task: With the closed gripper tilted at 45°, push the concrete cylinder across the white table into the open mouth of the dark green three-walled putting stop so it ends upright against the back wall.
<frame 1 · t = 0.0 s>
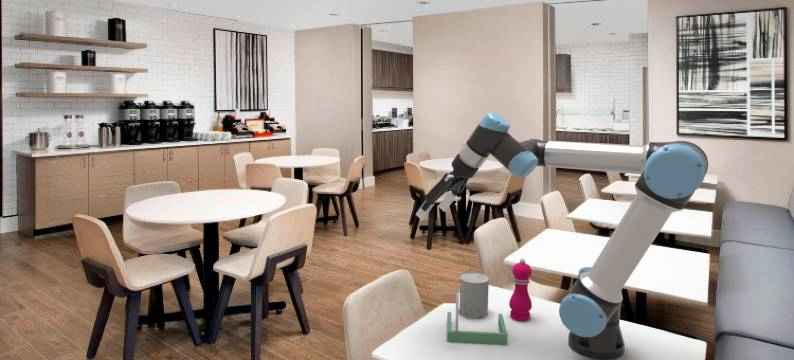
hand: (430, 212, 158), 36 cm above the table, tool tilted 35°, fingers open, 13 cm apart
pepper mill: (519, 317, 167), on the table
concrete cylinder: (473, 313, 171), on the table
putting stop: (476, 334, 155), on the table
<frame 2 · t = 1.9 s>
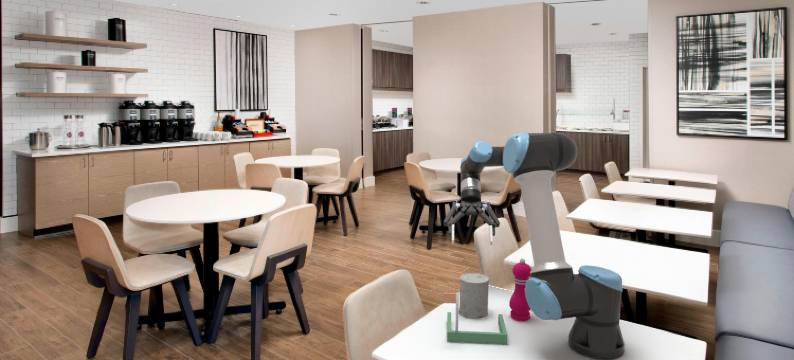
hand: (472, 242, 182), 20 cm above the table, tool tilted 45°, fingers open, 13 cm apart
nothing on the table moved.
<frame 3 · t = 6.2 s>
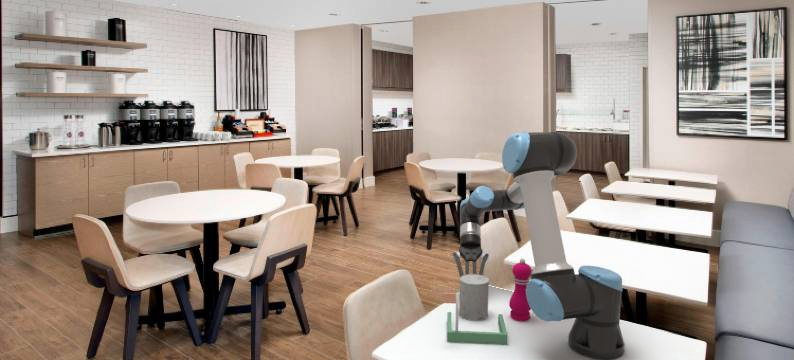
hand: (471, 298, 175), 3 cm above the table, tool tilted 45°, fingers closed
concrete cylinder: (473, 315, 170), on the table, touching gripper
everything else where it was.
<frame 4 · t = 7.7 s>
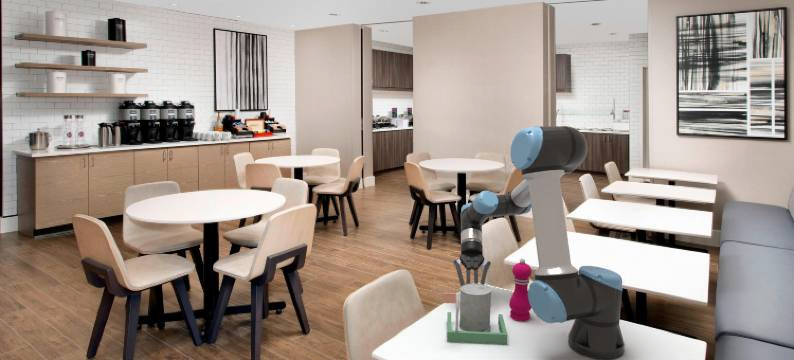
hand: (472, 308, 166), 3 cm above the table, tool tilted 45°, fingers closed
concrete cylinder: (474, 326, 161), on the table, touching gripper
everything else where it was.
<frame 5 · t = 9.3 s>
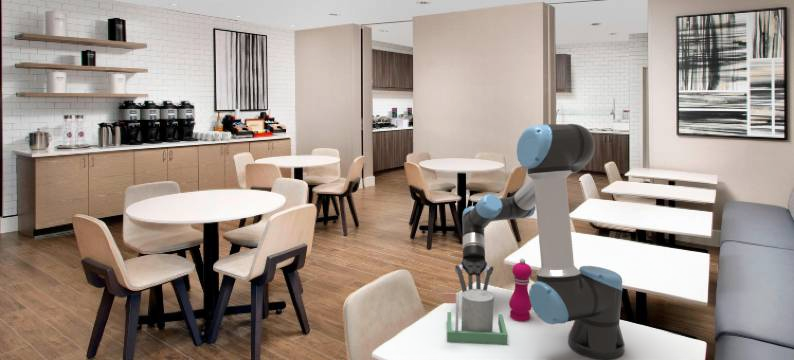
hand: (475, 315, 162), 3 cm above the table, tool tilted 45°, fingers closed
concrete cylinder: (476, 333, 156), on the table, touching gripper
everything else where it was.
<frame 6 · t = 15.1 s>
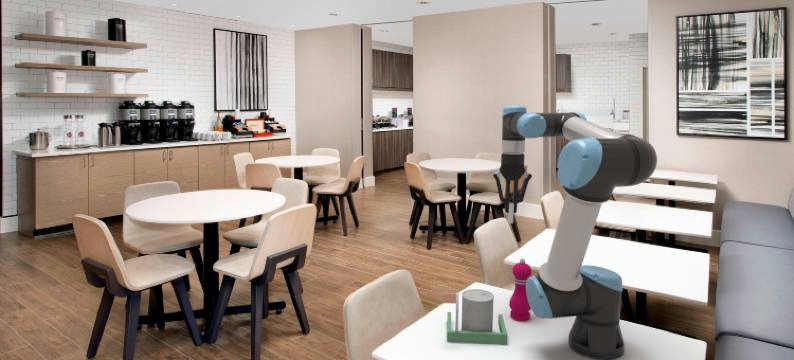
hand: (510, 222, 173), 29 cm above the table, tool pointing down, fingers closed
concrete cylinder: (476, 333, 156), on the table
everything else where it was.
at the end: concrete cylinder inside the target area on the putting stop (1.7 cm from its centre), point 0.0 cm above the putting stop's base; concrete cylinder tilted 0°; the gripper is holding nothing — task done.
